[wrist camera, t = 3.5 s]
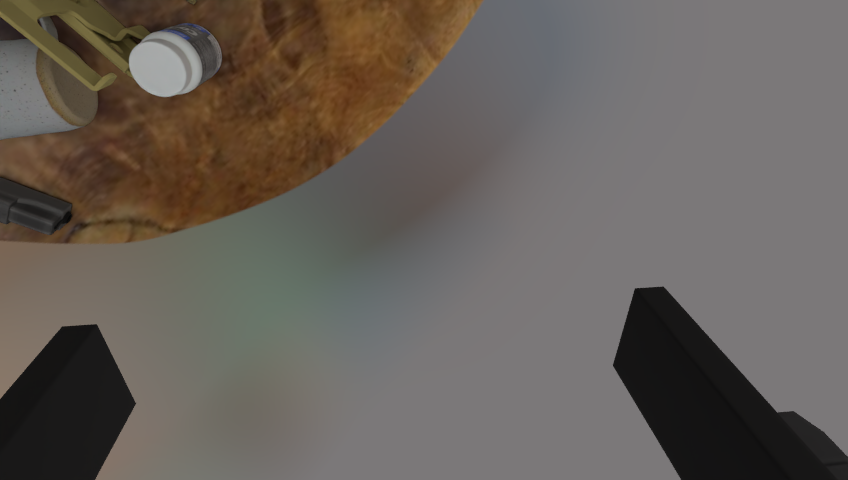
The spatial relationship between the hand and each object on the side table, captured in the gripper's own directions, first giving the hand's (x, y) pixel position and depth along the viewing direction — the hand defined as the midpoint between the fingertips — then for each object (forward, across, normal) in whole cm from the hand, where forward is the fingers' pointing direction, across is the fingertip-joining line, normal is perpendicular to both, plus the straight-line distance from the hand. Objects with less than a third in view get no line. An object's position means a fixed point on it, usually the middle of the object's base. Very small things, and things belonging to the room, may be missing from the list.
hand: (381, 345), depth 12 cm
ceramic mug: (+37, -29, +1) cm, 47 cm away
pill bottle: (+37, -16, +2) cm, 40 cm away
